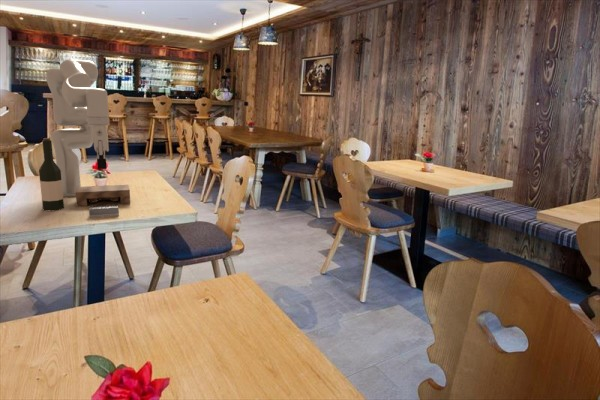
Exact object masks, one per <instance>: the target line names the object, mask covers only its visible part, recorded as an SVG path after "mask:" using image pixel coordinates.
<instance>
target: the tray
mask: <svg viewBox="0 0 600 400" xmlns="http://www.w3.org/2000/svg"><path fill="white" fill-rule="evenodd" d="M119 209H120V208H119V206H118V203H117V204H113V203H112V204H99V205H90V206H89V209H88V214H89V218H90V219H91V218H93V219H94V218H105V217H106V218H108V217H117V216H118V217H119V216H120V210H119Z"/></svg>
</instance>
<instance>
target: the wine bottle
mask: <svg viewBox="0 0 600 400" xmlns="http://www.w3.org/2000/svg"><path fill="white" fill-rule="evenodd" d="M41 142H42V150H43V162H42V164H41V166H40V168H39V169H38V175H39V183H40V193H41V203H42V209H44V210H43V211H46V210H54V211H60V210H63V209H65V203H64V197H63V191H62V180H61V170H60V169H59V167H58V166H57V163H56V161H54V153H53V142H52V139H51V138H48V137H45V138H44V137H43V140H42V141H41ZM59 209H60V210H59Z"/></svg>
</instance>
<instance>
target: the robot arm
mask: <svg viewBox="0 0 600 400" xmlns="http://www.w3.org/2000/svg"><path fill="white" fill-rule="evenodd" d="M45 77H46V83H47V85H48V88H49V90H50V93H51V97H52V106H53V107H52V109H53V118H54V123H55V124H56V126H60V127H80V128H60V129H59V128H58V129H55V130H54V131H53V132H52V134H51V142H52V146H53V148H54V154H55V163H56V165H57V166H58V167H59V169H60V170H61V180H62V191H63V198H70V197H76V189H77V187H82V186H81V174H80V160H79V156H78V155H77V154H76V153H75V152H74V151H73V150H76V149H77V150H78V149H89V148H91V147H93V148H94V151H95V152H96V156H97V158H96V164H97V166H96V167H97V169H98V170H107V168H108V167H107V158H106V152H109V151H110V148H109V147H110V146H109V135H108V126H110V117H109V116H110V113H109V98H108V97H109V96H108V91H107V90H106V89H104V88H97V87H92V86H93V85H94V83H96V81H97V79H98V77H99V70H98V67H97V64H96V63H94V61H91V60H84V59H82V60H81V59H66V60H63V61H62V62H61V63H60V65H59V67H58V68H57V67H55V68H54V67H53V68H50V69H48V70H47V71H46V73H45Z"/></svg>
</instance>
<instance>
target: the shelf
mask: <svg viewBox="0 0 600 400" xmlns="http://www.w3.org/2000/svg"><path fill="white" fill-rule="evenodd" d="M119 200H120V205H130V204H131V193H130V186H129V184H113V185H91V186H90V185H89V186H81V187H77V189H76V196H75V203H76V207H77V208H80V207H88V202H89V203H97V202H98V201H111V202H118V201H119Z"/></svg>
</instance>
